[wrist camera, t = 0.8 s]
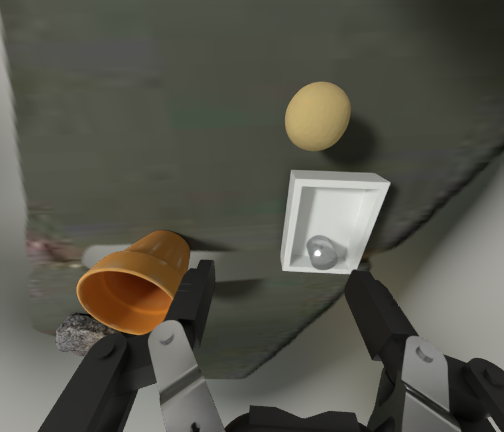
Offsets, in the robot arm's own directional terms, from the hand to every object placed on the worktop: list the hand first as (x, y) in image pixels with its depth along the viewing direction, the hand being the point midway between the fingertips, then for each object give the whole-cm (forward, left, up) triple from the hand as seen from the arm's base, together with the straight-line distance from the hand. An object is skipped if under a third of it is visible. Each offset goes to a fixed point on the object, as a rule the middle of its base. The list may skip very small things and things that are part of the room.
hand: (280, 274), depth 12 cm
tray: (+7, +9, -22) cm, 25 cm away
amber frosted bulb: (-8, +4, -22) cm, 23 cm away
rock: (+44, -43, -22) cm, 65 cm away
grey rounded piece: (+12, +9, -19) cm, 24 cm away
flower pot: (+16, -19, -22) cm, 33 cm away
